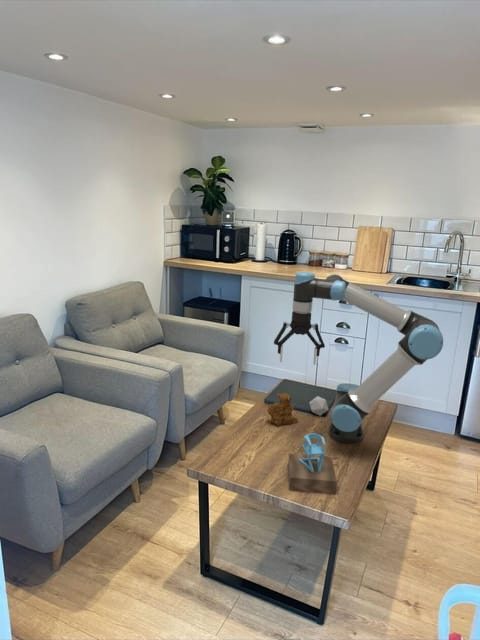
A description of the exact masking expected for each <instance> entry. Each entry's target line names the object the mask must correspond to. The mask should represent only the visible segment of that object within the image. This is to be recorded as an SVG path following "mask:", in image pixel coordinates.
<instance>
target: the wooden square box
mask: <svg viewBox="0 0 480 640" xmlns="http://www.w3.org/2000/svg"><path fill="white" fill-rule="evenodd" d="M320 456H321V455H314V456H310V458H319V460H320ZM304 458H307V455H306V454H302V453H299V454H298V453H288V460H287V468H288V469H287V471H288V487H289V491H297V492H305V493H307V492H308V493H309V492H310V493H319V494H331V495H333V494H334V495H336V493H337V484H338V480H337V475H336V470H335V467H334V463H333V458H332V456H328V455H327V456H326V455H324V458H323V461H322V465H321V472H318V470H317V460H314V461H311V463H312V466H313V468H314V473H312V472H311V471H310V470H309V469H307V468H306V467H305V466H304V465H302V464H301V463H300V462H299V459H304ZM304 462H305V463H306V464H308V465H309V466H310V464H309V461H304Z"/></svg>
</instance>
